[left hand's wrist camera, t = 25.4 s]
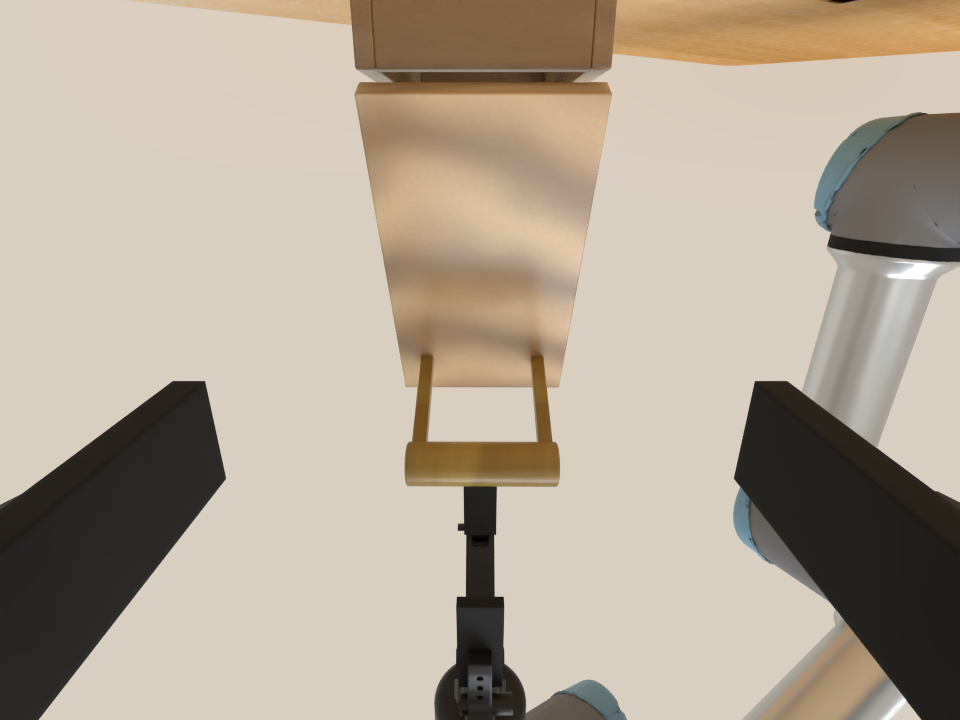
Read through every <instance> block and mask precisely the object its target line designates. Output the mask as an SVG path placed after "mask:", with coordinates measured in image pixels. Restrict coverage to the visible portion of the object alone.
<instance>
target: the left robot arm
mask: <svg viewBox="0 0 960 720" xmlns="http://www.w3.org/2000/svg"><path fill="white" fill-rule="evenodd" d="M225 479H226V476H225V471H224V467H223V462H222V457H221V453H220V448H219V444H218V439H217V434H216V430H215V425H214V420H213V416H212V412H211V407H210V402H209V397H208V393H207V388H206V383H205V381H173V382H171V383H170V384H169V385H167V386H166V387H164V388H163V389H162V390H160V391H159V392H158V393H156V394H155V395H154V396H152V397H151V398H150V399H148V400H147V401H146V402H144V403H143V404H142V405H140V406H139V407H138V408H136V409H135V410H134V411H132V412H131V413H130V414H128V415H127V416H126V417H124V418H123V419H122V420H120V421H119V422H118V423H116V424H115V425H114V426H112V427H111V428H110V429H108V430H107V431H105V432H104V433H103V434H102V435H100V436H99V437H97V438H96V439H95V440H93V441H92V442H91V443H89V444H88V445H87V446H85V447H84V448H83V449H81V450H80V451H79V452H77V453H76V454H75V455H73V456H72V457H71V458H69V459H68V460H67V461H65V462H64V463H63V464H61V465H60V466H59V467H57V468H56V469H55V470H53V471H52V472H51V473H49V474H48V475H47V476H45V477H44V478H43V479H41V480H40V481H38V482H37V483H36V484H34V485H33V486H32V487H31V488H29V489H28V490H26V491H25V492H24V493H22V494H21V495H19V496H17V497H15V498H13V499H11V500H9V501H7V502H5V503H3V504H1V505H0V720H39V718H40V717H41V716H42V715H43V713H44V712H45V711H46V709H47V708H48V707H49V706H50V704H51V703H52V702H53V700H54V699H55V698H56V697H57V695H58V694H59V693H60V691H61V690H62V689H63V688H64V686H65V685H66V684H67V682H68V681H69V680H70V679H71V677H72V676H73V675H74V673H75V672H76V671H77V670H78V668H79V667H80V666H81V664H82V663H83V662H84V661H85V659H86V658H87V657H88V655H89V654H90V653H91V652H92V650H93V649H94V648H95V646H96V645H97V644H98V643H99V641H100V640H101V639H102V637H103V636H104V635H105V634H106V632H107V631H108V630H109V628H110V627H111V626H112V625H113V623H114V622H115V621H116V619H117V618H118V617H119V616H120V614H121V613H122V612H123V610H124V609H125V608H126V607H127V605H128V604H129V603H130V601H131V600H132V599H133V598H134V596H135V595H136V594H137V592H138V591H139V590H140V589H141V587H142V586H143V585H144V583H145V582H146V581H147V580H148V578H149V577H150V576H151V574H152V573H153V572H154V571H155V569H156V568H157V567H158V565H159V564H160V563H161V562H162V560H163V559H164V558H165V556H166V555H167V554H168V553H169V551H170V550H171V549H172V547H173V546H174V545H175V543H176V542H177V541H178V540H179V538H180V537H181V536H182V535H183V533H184V532H185V531H186V529H187V528H188V527H189V526H190V524H191V523H192V522H193V520H194V519H195V518H196V517H197V515H198V514H199V513H200V511H201V510H202V509H203V508H204V506H205V505H206V504H207V502H208V501H209V500H210V499H211V497H212V496H213V495H214V493H215V492H216V491H217V490H218V488H219V487H220V486H221V484H222V483H223V482H224V481H225ZM734 479H735V481H736V482H737V483H738V484H739V486H740V487H741V488H742V490H743V491H744V492H745V493H746V495H747V496H748V497H749V499H750V500H751V501H752V502H753V504H754V505H755V506H756V508H757V509H758V510H759V511H760V513H761V514H762V515H763V517H764V518H765V519H766V520H767V522H768V523H769V524H770V526H771V527H772V528H773V529H774V531H775V532H776V533H777V535H778V536H779V537H780V538H781V540H782V541H783V542H784V544H785V545H786V546H787V547H788V549H789V550H790V551H791V553H792V554H793V555H794V556H795V558H796V559H797V560H798V562H799V563H800V564H801V565H802V567H803V568H804V569H805V571H806V572H807V573H808V574H809V576H810V577H811V578H812V580H813V581H814V582H815V583H816V585H817V586H818V587H819V589H820V590H821V591H822V592H823V594H824V595H825V596H826V598H827V599H828V600H829V601H830V603H831V604H832V605H833V607H834V608H835V609H836V610H837V612H838V613H839V614H840V616H841V617H842V618H843V619H844V621H845V622H846V623H847V625H848V626H849V627H850V628H851V630H852V631H853V632H854V634H855V635H856V636H857V637H858V639H859V640H860V641H861V643H862V644H863V645H864V646H865V648H866V649H867V650H868V652H869V653H870V654H871V655H872V657H873V658H874V659H875V661H876V662H877V663H878V664H879V666H880V667H881V668H882V670H883V671H884V672H885V673H886V675H887V676H888V677H889V679H890V680H891V681H892V682H893V684H894V685H895V686H896V688H897V689H898V690H899V691H900V693H901V694H902V695H903V697H904V698H905V699H906V700H907V702H908V703H909V704H910V706H911V707H912V708H913V709H914V711H915V712H916V713H917V715H918V716H919V717H920V719H921V720H960V502H958V501H956V500H954V499H952V498H950V497H948V496H946V495H944V494H942V493H940V492H938V491H934V490H932V489H931V488H930V487H928V486H927V485H926V484H924V483H923V482H922V481H920V480H919V479H917V478H916V477H915V476H913V475H912V474H911V473H909V472H908V471H907V470H905V469H904V468H903V467H901V466H900V465H899V464H897V463H896V462H895V461H893V460H892V459H891V458H889V457H888V456H887V455H885V454H884V453H883V452H881V451H880V450H879V449H877V448H876V447H875V446H873V445H872V444H871V443H869V442H868V441H867V440H865V439H864V438H863V437H861V436H860V435H859V434H857V433H856V432H855V431H853V430H852V429H850V428H849V427H848V426H846V425H845V424H844V423H842V422H841V421H840V420H838V419H837V418H836V417H834V416H833V415H832V414H830V413H829V412H828V411H826V410H825V409H824V408H822V407H821V406H820V405H818V404H817V403H816V402H814V401H813V400H812V399H810V398H809V397H808V396H806V395H805V394H804V393H802V392H801V391H800V390H798V389H797V388H796V387H794V386H793V385H792V384H790V383H789V382H787V381H755V383H754V388H753V393H752V397H751V402H750V407H749V411H748V416H747V420H746V425H745V430H744V434H743V439H742V444H741V448H740V453H739V457H738V462H737V467H736V471H735V476H734Z"/></svg>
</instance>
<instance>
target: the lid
mask: <svg viewBox="0 0 960 720" xmlns="http://www.w3.org/2000/svg"><path fill="white" fill-rule="evenodd" d="M611 96H612V93H611V91H610V88H609V86H608V83H606V82H360V83H359V84H358V87H357V89H356V92H355V100H356V105H357V111H358V117H359V122H360V128H361V134H362V140H363V145H364V151H365V157H366V162H367V168H368V174H369V180H370V185H371V191H372V197H373V202H374V208H375V214H376V219H377V225H378V231H379V236H380V242H381V248H382V254H383V259H384V265H385V271H386V277H387V282H388V288H389V294H390V299H391V305H392V311H393V317H394V322H395V328H396V334H397V339H398V345H399V351H400V357H401V362H402V368H403V374H404V379H405V385H406V387H418V390H417V400H416V410H415V419H414V428H413V438H412V442H408V444H407V447H406V453H405V481H406V484H407V486H531V487H534V486H535V487H556V486H558V483H559V477H560V458H559V449H558V445H557V443H556V442H552V434H551V424H550V414H549V405H548V395H547V387H559V383H560V377H561V372H562V366H563V361H564V355H565V350H566V344H567V339H568V333H569V328H570V322H571V317H572V311H573V306H574V300H575V295H576V289H577V284H578V278H579V273H580V267H581V261H582V256H583V251H584V245H585V240H586V234H587V228H588V223H589V217H590V212H591V207H592V201H593V196H594V190H595V184H596V179H597V173H598V168H599V162H600V157H601V151H602V146H603V140H604V135H605V129H606V124H607V118H608V113H609V107H610V102H611ZM432 387H533V398H534V411H535V423H536V435H537V442H428V429H429V417H430V405H431V393H432Z"/></svg>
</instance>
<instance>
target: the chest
mask: <svg viewBox="0 0 960 720" xmlns="http://www.w3.org/2000/svg"><path fill="white" fill-rule="evenodd" d="M616 4H617V0H350V7H351V19H352V32H353V45H354V58H355V68H356V69H357V70H359V71H360V72H362V73H363V74H365V75H366V76H368V77H369V78H371V79H372V80H374V81H375V82H591V81H592V80H594V79H595V78H597V77H598V76H600V75H602V74H603V73H605V72H606V71H608V70H609V69H611V64H612V52H613V40H614V28H615V16H616Z"/></svg>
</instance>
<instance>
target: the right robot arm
mask: <svg viewBox="0 0 960 720" xmlns="http://www.w3.org/2000/svg"><path fill="white" fill-rule="evenodd" d="M814 208H815V209H816V210H817V211H816V213H815V218H816V221H817V223H818V224H819V225H820V226H821V227H822V228H824V229H825V230H827V231H829V232H831V234H830V238H829V242H828V245H827V250H828V251H829V253H830V254H831V255H832V257H833V258H834V259H835V261H836V262H837V265H838V269H837V272H836V275H835V279H834V282H833V286H832V289H831V293H830V296H829V300H828V303H827V306H826V310H825V313H824V317H823V320H822V324H821V327H820V331H819V334H818V338H817V341H816V345H815V348H814V351H813V355H812V358H811V362H810V365H809V369H808V372H807V376H806V379H805V383H804V386H803V390H802V393H804V394H805V395H806V396H808V397H809V398H810V399H812V400H813V401H814V402H816V403H817V404H818V405H820V406H821V407H822V408H824V409H825V410H826V411H828V412H829V413H830V414H832V415H833V416H834V417H836V418H837V419H838V420H840V421H841V422H842V423H844V424H845V425H846V426H848V427H849V428H850V429H852V430H853V431H855V432H856V433H857V434H859V435H860V436H861V437H863V438H864V439H865V440H867V441H868V442H869V443H871V444H872V445H873V446H875V447H876V448H877V446H878V443H879V440H880V437H881V435H882V432H883V429H884V426H885V423H886V421H887V418H888V415H889V412H890V410H891V407H892V404H893V401H894V398H895V396H896V393H897V390H898V387H899V384H900V382H901V379H902V376H903V373H904V371H905V368H906V365H907V362H908V359H909V357H910V354H911V351H912V348H913V345H914V343H915V340H916V337H917V334H918V331H919V329H920V326H921V323H922V320H923V317H924V315H925V312H926V309H927V306H928V304H929V301H930V298H931V295H932V292H933V289H934V287H935V284H936V281H937V279H938V278H940V277H941V276H942V275H943V274H945V273H947V272H949V271H951V270H953V269H955V268H957V267H959V266H960V113H946V114H926V113H921V112H917V113H912V114H909V115H907V116H897V117H887V118H879V119H875V120H872V121H869V122H867V123H865V124H863V125H862V126H860V127H859V128H857V129H856V130H855V131H854V132H852V133H851V134H850V135H849V137H848V138H847V139H846V140H844V141H843V142H842V143H841V145H840V146H839V147H838V148H837V150H836V151H835V152H834V154H833V156H832V157H831V159H830V160H829V162H828V164H827V166H826V168H825V170H824V172H823V174H822V176H821V179H820V181H819V184H818V188H817V191H816V195H815V202H814ZM496 497H497V486H464V524H458V531H464V534H465V535H466V597H457V605H456V613H457V650H456V664H455V665H454V666H452V667H451V668H450V669H449V670H448V671H447V672H446V673H445V674H444V676H443V677H442V679H441V680H440V682H439V684H438V687H437V690H436V694H435V702H434V704H435V720H627V719H626V716H625V714H624V713H623V712H622V711H621V710H620V708H619V706H618V702H617V700H616V699H615V697H614V696H613V695H612V694H611V693H610V691H609V690H607V689H606V688H605V687H604V686H603V685H602V684H600V683H598V682H596V681H593V680H583V681H581V682H579V683H577V684H575V685H573V686H571V687H569V688H567V689H565V690H563V691H559V692H556V693H555V694H554V695H553V696H551V698H550V699H548V700H546V701H545V702H543V703H542V704H540V705H538V706H537V707H535V708H534V709H532V710H530V711H529V712H527V713H526V697H525V692H524V688H523V686H522V683H521V681H520V680H519V678H518V677H517V675H516V674H515V673H514V671H513V670H512V669H510V668H509V667H508V666H507V665H505V664H504V647H503V636H504V597H495V592H494V535H496ZM733 520H734V527H735V530H736V532H737V535H738V536H739V538H740V539H741V540H742V541H743V543H744V544H745V545H747V546H748V547H750V548H751V549H752V550H754V551H755V552H756V553H757V554H758V555H759V556H760V557H761V558H762V559H763V560H765V561H766V562H768V563H770V564H775V565H776V566H778V567H779V568H781V569H782V570H783V571H785V572H786V573H788V574H789V575H791V576H792V577H794V578H795V579H797V580H798V581H800V582H801V583H803V584H804V585H805V586H807V587H808V588H810V589H811V590H813V591H814V592H816V593H817V594H819V595H820V596H822V597H823V598H824V599H826V600H827V601H829V600H828V599H827V598H826V596H825V595H824V594H823V592H822V591H821V590H820V589H819V587H818V586H817V585H816V583H815V582H814V581H813V580H812V578H811V577H810V576H809V574H808V573H807V572H806V571H805V569H804V568H803V567H802V565H801V564H800V563H799V562H798V560H797V559H796V558H795V556H794V555H793V554H792V553H791V551H790V550H789V549H788V547H787V546H786V545H785V544H784V542H783V541H782V540H781V538H780V537H779V536H778V535H777V533H776V532H775V531H774V529H773V528H772V527H771V526H770V524H769V523H768V522H767V520H766V519H765V518H764V517H763V515H762V514H761V513H760V511H759V510H758V509H757V508H756V506H755V505H754V504H753V502H752V501H751V500H750V499H749V497H748V496H747V495H746V493H745V492H744V491H743V490H742V488H741V487H740V489H739V492H738V494H737V497H736V501H735V505H734V512H733ZM829 602H830V601H829ZM834 621H835V625H836V626H835V627H834V628H833V629H832V630H831V631H830V632H829V633H828V634H827V635H826V636H825V637H824V638H823V639H822V640H821V641H820V642H819V643H818V644H817V645H816V646H815V647H814V648H813V649H812V650H811V651H810V652H809V653H808V654H807V655H806V656H805V657H804V658H803V659H802V660H801V661H800V662H799V663H798V664H797V665H796V666H795V667H794V668H793V669H792V670H791V671H790V672H789V673H788V674H787V675H786V676H785V677H784V678H783V679H782V680H781V681H780V682H779V683H778V684H777V685H776V686H775V687H774V688H773V689H772V690H771V691H770V692H769V693H768V694H767V695H766V696H765V697H764V698H763V699H762V700H761V701H760V702H759V703H758V704H757V705H756V706H755V707H754V708H753V709H752V710H751V711H750V712H749V713H748V714H747V715H746V716H745V717H744V718H743V719H742V720H891V719H892V718H893V717H894V716H895V714H896V713H897V712H898V711H899V710H900V708H901V707H902V706H903V705H904V704H905V703H906V701H907V700H906V699H905V698H904V697H903V695H902V694H901V693H900V691H899V690H898V689H897V688H896V686H895V685H894V684H893V682H892V681H891V680H890V679H889V677H888V676H887V675H886V673H885V672H884V671H883V670H882V668H881V667H880V666H879V664H878V663H877V662H876V661H875V659H874V658H873V657H872V655H871V654H870V653H869V652H868V650H867V649H866V648H865V646H864V645H863V644H862V643H861V641H860V640H859V639H858V637H857V636H856V635H855V634H854V632H853V631H852V630H851V628H850V627H849V626H848V625H847V623H846V622H845V621H844V619H843V618H842V617H841V616H840V614H839V613H838V612H837V610H836V609H835V611H834ZM525 713H526V714H525Z"/></svg>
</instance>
